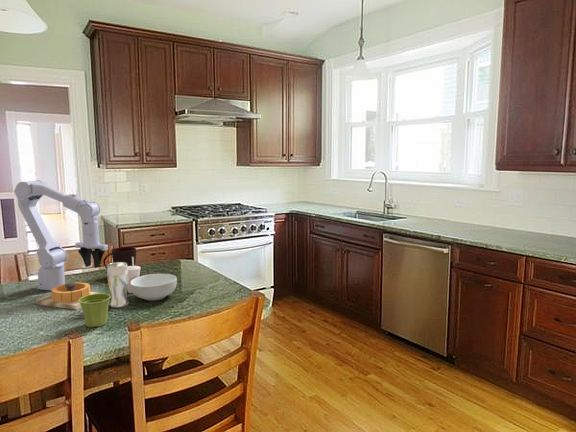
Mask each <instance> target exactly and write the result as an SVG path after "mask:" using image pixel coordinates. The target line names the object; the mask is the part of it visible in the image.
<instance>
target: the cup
mask: <svg viewBox="0 0 576 432" xmlns="http://www.w3.org/2000/svg"><path fill="white" fill-rule="evenodd" d="M110 256H111V257H112V263H115V262H125V263H127V267H128V266H132V257H134V266H136V262H137V248H136V247H134V246H121V247H115V248H112V249H111V252H110V253H108V254H107V255H106V256H104V258H103V261H102V262H103V266H104V267H105V268H106V270H107V269H108V266H107V264H106V260H107V259H108V257H110Z"/></svg>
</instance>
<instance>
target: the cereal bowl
mask: <svg viewBox="0 0 576 432" xmlns="http://www.w3.org/2000/svg"><path fill="white" fill-rule="evenodd" d="M177 284H178V278H177V276H176V275H175V274H169V273H150V274H145V275H141V276H140V275H139V277H137V278H135V279H133V280H132V281H131V282H130V286H131V290H132V292H133V293H132V294H133V295H134V296H135V297H137V298H140V299H144V300H145V301H160V300H163V299H165V298H166V297H167V296H170V295H171V294H172V293H173V292H175V290H176V288H177Z"/></svg>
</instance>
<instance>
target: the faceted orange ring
mask: <svg viewBox="0 0 576 432" xmlns="http://www.w3.org/2000/svg"><path fill="white" fill-rule="evenodd" d="M75 283H76V285H75V286H74V291H67V287H65V284H66V283H65V284H62V285H59V286H56V287H54V288H53V289H52V290H51V291H50V292H51V294H52V300H53V301H55V302H62V303H63V302H74V301H78V300H79V299H80V298H81V297H84V296H87V295H90V294H91V292H92V291H91V285H90V283H88V282H77V281H76V282H75ZM51 294H50V295H51Z"/></svg>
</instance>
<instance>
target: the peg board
mask: <svg viewBox="0 0 576 432" xmlns="http://www.w3.org/2000/svg"><path fill="white" fill-rule="evenodd" d="M75 285H76V282H68V283H65V287H67V291H74V286H75ZM100 293H101V292H98V291H91V294H100ZM102 293H103V294H105V293H104V292H102ZM91 294H90V295H91ZM35 303H36V305H40V306H41V305H42V306H48V307H56V308H62V309H67V310H68V309H69V310H79V309H80V308H81V309H82V307H81V304H80V303H79V301H74V302H63V303H62V302H55V301H53V300H52V294H49V295H46V296H43V297H41V298H38V299H36V300H35Z"/></svg>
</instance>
